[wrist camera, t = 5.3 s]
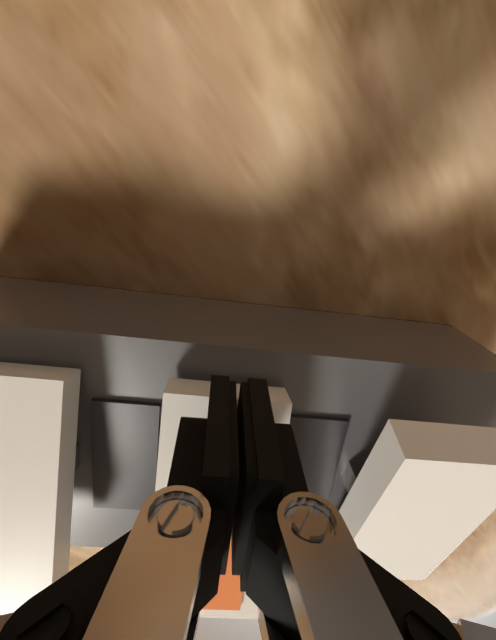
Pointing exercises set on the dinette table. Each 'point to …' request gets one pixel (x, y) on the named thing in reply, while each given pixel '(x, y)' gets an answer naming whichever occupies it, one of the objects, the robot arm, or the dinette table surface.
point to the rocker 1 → (35, 477)
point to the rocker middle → (177, 403)
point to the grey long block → (239, 364)
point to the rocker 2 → (421, 494)
